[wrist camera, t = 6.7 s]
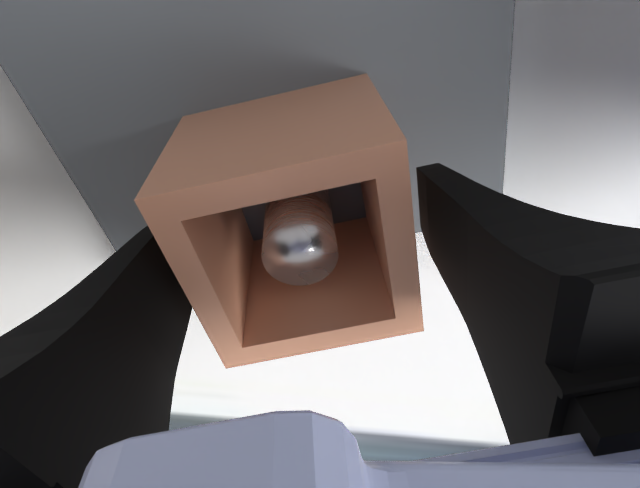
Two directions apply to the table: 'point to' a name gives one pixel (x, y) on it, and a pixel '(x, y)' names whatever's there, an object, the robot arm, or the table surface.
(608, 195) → the table surface
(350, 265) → the sleeve
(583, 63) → the table surface
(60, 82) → the pin plate
